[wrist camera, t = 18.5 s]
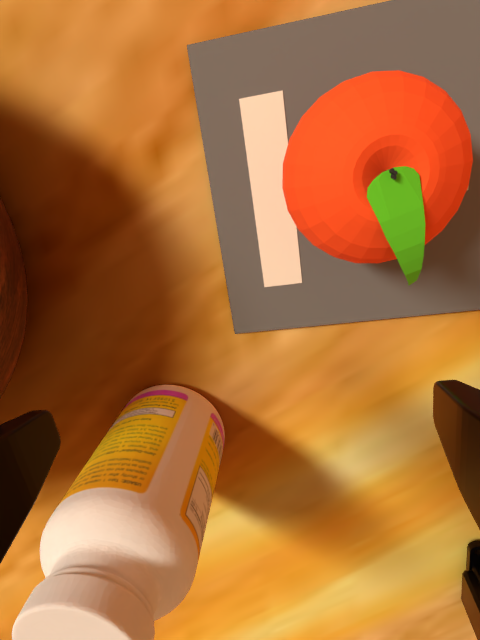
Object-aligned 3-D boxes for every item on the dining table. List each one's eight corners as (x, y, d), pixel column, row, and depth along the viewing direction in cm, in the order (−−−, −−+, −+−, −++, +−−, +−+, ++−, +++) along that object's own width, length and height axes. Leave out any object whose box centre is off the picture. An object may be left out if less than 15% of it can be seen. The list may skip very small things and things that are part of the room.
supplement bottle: (105, 425, 26) (-52, 641, 14) (166, 359, 24) (41, 549, 12) (183, 485, 27) (99, 735, 15) (249, 428, 25) (212, 667, 13)
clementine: (456, 235, 19) (544, 268, 13) (319, 286, 21) (333, 339, 14) (411, 60, 17) (488, -11, 10) (260, 132, 19) (245, 111, 12)
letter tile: (527, -28, 16) (531, -31, 16) (503, 305, 20) (506, 307, 20) (187, 46, 18) (186, 44, 18) (235, 332, 23) (234, 334, 22)
